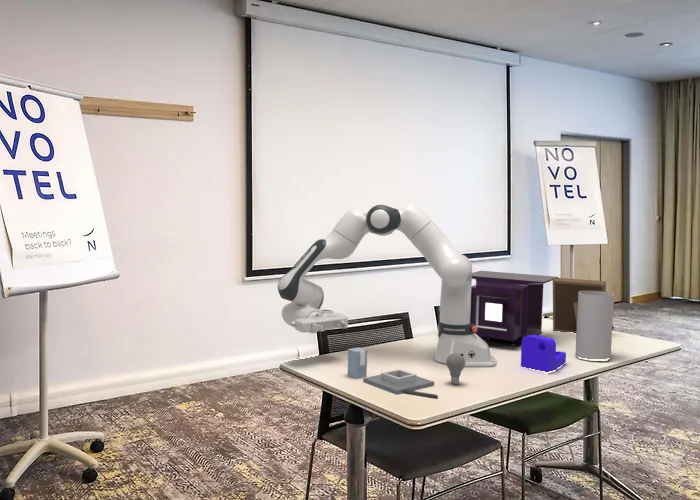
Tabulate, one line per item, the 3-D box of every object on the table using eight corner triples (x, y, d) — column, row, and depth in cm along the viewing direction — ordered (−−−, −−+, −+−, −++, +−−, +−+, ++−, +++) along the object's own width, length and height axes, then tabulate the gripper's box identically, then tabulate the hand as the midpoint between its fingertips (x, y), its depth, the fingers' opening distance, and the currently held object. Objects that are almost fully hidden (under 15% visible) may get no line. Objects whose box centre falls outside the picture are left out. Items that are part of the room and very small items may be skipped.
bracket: (547, 374, 212) (548, 340, 211) (520, 367, 221) (522, 335, 220) (576, 366, 224) (578, 334, 223) (550, 360, 232) (551, 329, 231)
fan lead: (402, 393, 189) (402, 389, 188) (404, 392, 189) (404, 388, 189) (437, 398, 184) (437, 395, 184) (438, 397, 185) (438, 394, 184)
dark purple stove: (479, 328, 288) (481, 270, 286) (555, 338, 269) (558, 276, 267) (449, 342, 258) (451, 277, 256) (532, 354, 240) (535, 285, 238)
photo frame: (555, 329, 289) (557, 276, 287) (605, 335, 278) (607, 280, 276) (547, 335, 276) (550, 279, 274) (599, 341, 265) (602, 283, 263)
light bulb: (443, 381, 202) (444, 351, 201) (461, 381, 202) (462, 350, 202) (448, 386, 196) (449, 355, 195) (466, 386, 196) (467, 355, 196)
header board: (399, 373, 209) (400, 364, 209) (434, 385, 197) (434, 375, 197) (363, 381, 200) (363, 372, 199) (397, 394, 187) (397, 384, 187)
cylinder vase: (617, 360, 233) (621, 294, 231) (596, 364, 227) (599, 296, 225) (589, 352, 244) (592, 290, 242) (568, 356, 238) (571, 292, 236)
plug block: (358, 373, 209) (358, 347, 208) (367, 377, 205) (368, 350, 204) (347, 375, 206) (348, 349, 205) (357, 379, 202) (357, 352, 201)
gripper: (288, 314, 218) (310, 321, 208) (334, 309, 231) (357, 315, 220) (287, 332, 219) (309, 339, 208) (333, 326, 232) (357, 333, 221)
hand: (334, 327), depth 214 cm, fingers open, 8 cm apart
